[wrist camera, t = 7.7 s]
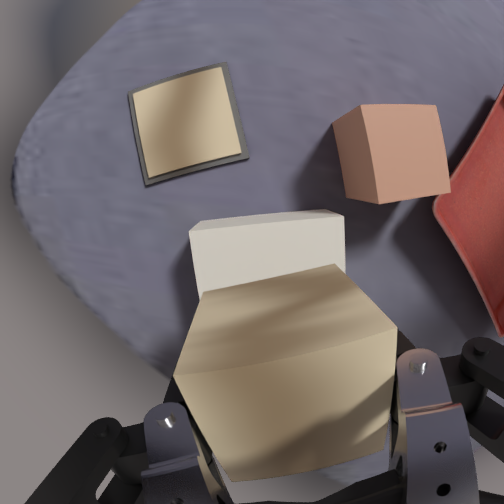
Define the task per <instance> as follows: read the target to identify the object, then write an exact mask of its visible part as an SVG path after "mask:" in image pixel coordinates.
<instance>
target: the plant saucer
mask: <svg viewBox="0 0 504 504" xmlns="http://www.w3.org/2000/svg"><path fill="white" fill-rule="evenodd" d="M449 179H450V189H451V193H445V194H439V195H436V197H435V199H434V200H433V203H432V211H433V215H434V216H435V218H436V220H437V221H438V223H439V224H440V226H441V227H442V229H443V230H444V232H445V233H446V235H447V237H448V238H449V240H450V241H451V243H452V244H453V246H454V248H455V249H456V251H457V253H458V254H459V256H460V258H461V260H462V261H463V263H464V265H465V267H466V268H467V270H468V272H469V274H470V276H471V277H472V279H473V281H474V283H475V285H476V287H477V289H478V291H479V293H480V295H481V297H482V299H483V301H484V303H485V306H486V308H487V310H488V312H489V314H490V317H491V319H492V321H493V324H494V326H495V329H496V331H497V334H498V336H499V337H503V336H504V85H503V87H502V89H501V91H500V93H499V95H498V97H497V99H496V100H495V102H494V104H493V106H492V108H491V110H490V111H489V113H488V115H487V117H486V119H485V121H484V122H483V124H482V126H481V128H480V129H479V131H478V133H477V135H476V136H475V138H474V140H473V141H472V143H471V145H470V146H469V148H468V149H467V151H466V153H465V154H464V156H463V157H462V159H461V160H460V162H459V163H458V165H457V166H456V168H455V169H454V171H453V172H452V174H451V175H450V177H449Z"/></svg>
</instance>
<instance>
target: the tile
mask: <svg viewBox="0 0 504 504" xmlns="http://www.w3.org/2000/svg"><path fill="white" fill-rule="evenodd" d="M128 96H129V102H130V109H131V115H132V120H133V126H134V132H135V137H136V142H137V147H138V152H139V157H140V162H141V167H142V171H143V176H144V180H145V184H146V185H149V184H153V183H156V182H159V181H162V180H166V179H169V178H173V177H176V176H180V175H183V174H187V173H190V172H194V171H198V170H202V169H205V168H209V167H213V166H217V165H221V164H226V163H230V162H234V161H238V160H243V159H247V158H249V153H248V149H247V145H246V140H245V136H244V132H243V128H242V124H241V119H240V115H239V111H238V107H237V103H236V99H235V95H234V90H233V86H232V82H231V78H230V74H229V70H228V66H227V62H222V63H218V64H214V65H210V66H206V67H202V68H198V69H194V70H191V71H187V72H184V73H180V74H177V75H174V76H171V77H167V78H164V79H161V80H158V81H155V82H153V83H150V84H147V85H144V86H142V87H139V88H136V89H134V90H131V91H129V92H128Z"/></svg>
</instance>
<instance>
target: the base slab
mask: <svg viewBox="0 0 504 504" xmlns="http://www.w3.org/2000/svg"><path fill="white" fill-rule="evenodd" d="M189 237H190V244H191V251H192V257H193V264H194V270H195V276H196V282H197V288H198V293H199V299H201V296H202V294H203V292H205V291H210V290H215V289H220V288H225V287H230V286H234V285H239V284H244V283H249V282H254V281H258V280H263V279H268V278H272V277H277V276H281V275H286V274H290V273H295V272H299V271H304V270H308V269H313V268H317V267H321V266H326V265H330V264H334V263H335V264H336V265H337V266H338V267H339V268H340V269H341V270H342V271H343V272H344V273H345V230H344V216H342V215H340V214H337V213H334V212H332V211H329V210H327V209H318V210H306V211H294V212H283V213H272V214H261V215H251V216H242V217H232V218H223V219H214V220H206V221H200V222H199V223H198V224H197V225H195V226H194V227H193V228H192V229H191V230H190V231H189Z"/></svg>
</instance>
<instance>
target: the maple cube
mask: <svg viewBox="0 0 504 504" xmlns="http://www.w3.org/2000/svg"><path fill="white" fill-rule="evenodd" d="M396 348H397V326H396V325H395V324H394V323H393V322H392V321H391V320H390V319H389V318H388V317H387V316H386V315H385V314H384V313H383V312H382V311H381V310H380V309H379V308H378V306H377V305H376V304H375V303H374V302H373V301H372V300H371V299H370V298H369V297H368V296H367V295H366V294H365V293H364V292H363V291H362V290H361V289H360V288H359V287H358V286H357V285H356V284H355V283H354V282H353V281H352V280H351V279H350V278H349V277H348V276H347V275H346V274H345V273H344V272H343V271H342V270H341V269H340V268H339V267H338V266H337V265H336V264H335V263H334V264H330V265H326V266H321V267H317V268H313V269H308V270H304V271H299V272H295V273H290V274H286V275H281V276H277V277H272V278H268V279H263V280H258V281H254V282H249V283H244V284H239V285H234V286H230V287H225V288H220V289H215V290H210V291H205V292H203V294H202V296H201V299H200V302H199V304H198V307H197V310H196V313H195V315H194V318H193V321H192V324H191V326H190V329H189V332H188V335H187V337H186V340H185V343H184V346H183V349H182V351H181V354H180V357H179V360H178V363H177V366H176V369H175V371H174V374H173V377H174V379H175V381H176V383H177V385H178V387H179V389H180V392H181V394H182V396H183V398H184V400H185V402H186V404H187V406H188V408H189V409H190V411H191V413H192V415H193V417H194V419H195V421H196V423H197V425H198V426H199V428H200V430H201V432H202V434H203V436H204V437H205V439H206V441H207V443H208V444H209V446H210V448H211V449H212V451H213V452H214V454H215V456H216V458H217V459H218V461H219V463H220V464H221V466H222V467H223V469H224V471H225V472H226V474H227V475H228V477H229V478H230V480H231V481H232V482H237V481H248V480H258V479H266V478H273V477H280V476H286V475H292V474H298V473H303V472H308V471H312V470H317V469H321V468H325V467H329V466H333V465H337V464H341V463H344V462H348V461H351V460H354V459H357V458H361V457H364V456H367V455H370V454H373V453H375V452H378V451H381V450H383V448H384V443H385V438H386V433H387V427H388V421H389V415H390V408H391V401H392V393H393V384H394V375H395V363H396Z"/></svg>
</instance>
